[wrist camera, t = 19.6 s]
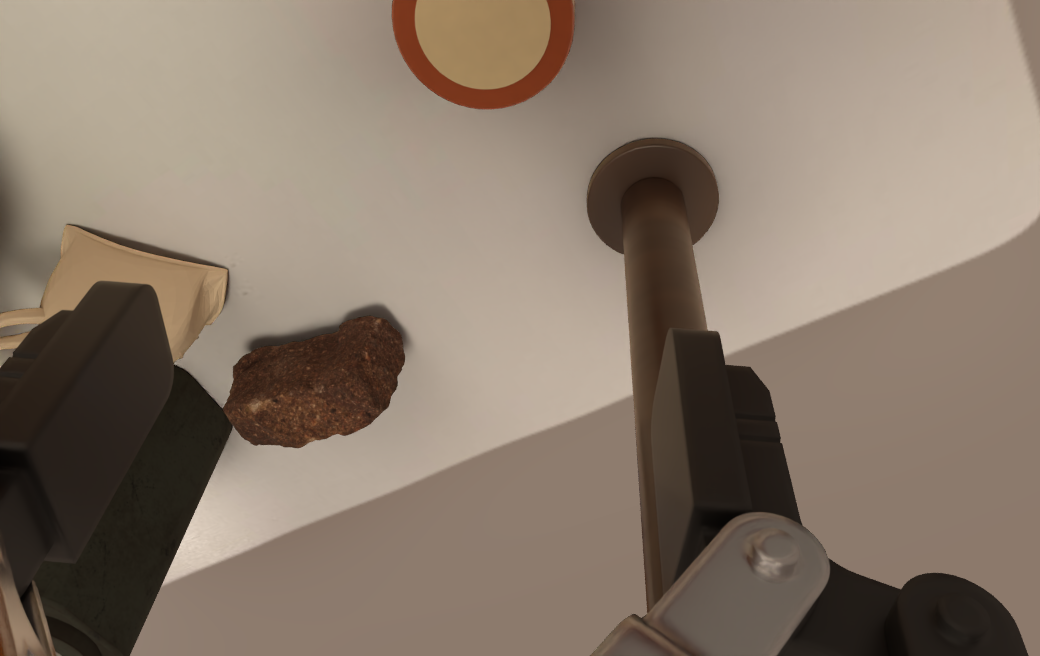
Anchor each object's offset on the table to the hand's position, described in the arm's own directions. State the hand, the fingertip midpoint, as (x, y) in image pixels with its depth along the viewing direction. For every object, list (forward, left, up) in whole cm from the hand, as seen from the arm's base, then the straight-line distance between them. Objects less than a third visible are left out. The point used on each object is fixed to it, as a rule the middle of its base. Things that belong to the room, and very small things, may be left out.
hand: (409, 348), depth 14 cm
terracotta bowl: (0, 0, -20) cm, 20 cm away
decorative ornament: (+15, +13, -20) cm, 28 cm away
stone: (+7, +16, -20) cm, 27 cm away
